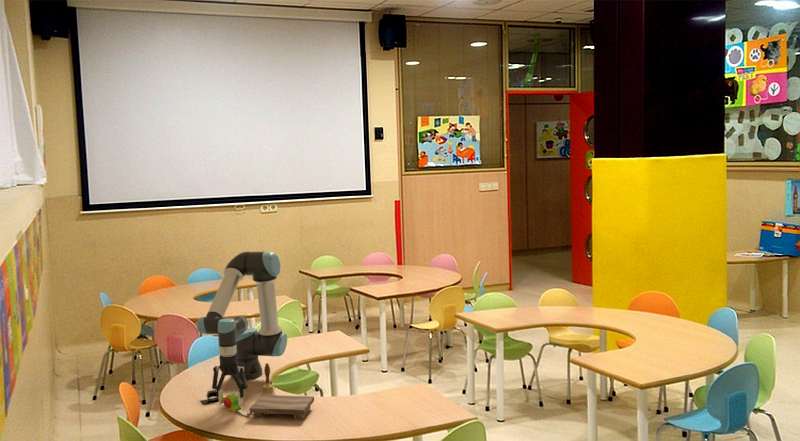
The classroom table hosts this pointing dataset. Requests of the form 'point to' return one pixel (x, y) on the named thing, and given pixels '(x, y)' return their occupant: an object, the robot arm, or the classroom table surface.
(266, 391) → the hand bell
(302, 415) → the walnut stand
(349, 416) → the classroom table surface
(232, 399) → the toy measuring tape
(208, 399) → the black arched bracket
